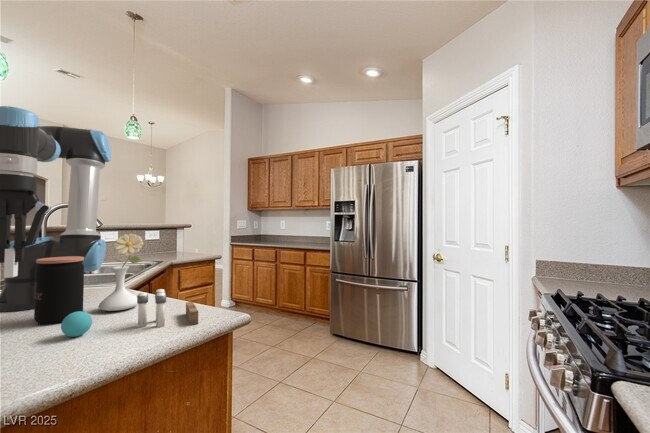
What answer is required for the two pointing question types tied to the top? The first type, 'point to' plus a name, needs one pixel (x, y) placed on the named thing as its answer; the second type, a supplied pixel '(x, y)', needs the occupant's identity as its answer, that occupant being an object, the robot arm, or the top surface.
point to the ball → (76, 324)
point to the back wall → (192, 313)
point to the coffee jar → (58, 288)
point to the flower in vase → (123, 275)
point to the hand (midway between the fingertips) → (10, 276)
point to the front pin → (142, 309)
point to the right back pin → (160, 309)
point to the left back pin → (158, 292)
